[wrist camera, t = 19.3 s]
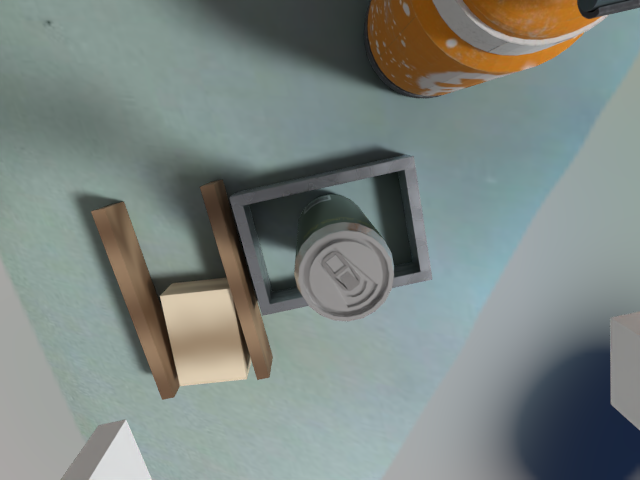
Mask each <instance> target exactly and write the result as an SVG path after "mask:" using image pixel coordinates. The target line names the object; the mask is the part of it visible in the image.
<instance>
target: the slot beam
mask: <svg viewBox="0 0 640 480" xmlns="http://www.w3.org/2000/svg"><path fill="white" fill-rule="evenodd" d="M200 189H201V193H202V196H203V200H204V203H205V206H206V210H207V213H208V216H209V220H210V223H211V226H212V230H213V233H214V236H215V240H216V243H217V246H218V250H219V253H220V256H221V260H222V263H223V266H224V270H225V273H226V276H227V280H228V283H229V286H230V290H231V293H232V297H233V300H234V303H235V307H236V310H237V313H238V317H239V320H240V323H241V327H242V330H243V333H244V337H245V340H246V343H247V347H248V350H249V353H250V357H251V360H252V363H253V367H254V370H255V373H256V377H257V380H259V379H264V378H269V377H270V371H271V365H272V358H273V356H272V353H271V349H270V346H269V342H268V339H267V335H266V331H265V328H264V324H263V321H262V317H261V314H260V310H259V307H258V303H257V300H256V296H255V292H254V289H253V285H252V282H251V278H250V275H249V271H248V268H247V264H246V261H245V257H244V253H243V250H242V246H241V243H240V239H239V236H238V232H237V229H236V225H235V222H234V218H233V214H232V211H231V207H230V204H229V200H228V197H227V193H226V190H225V186H224V183H223V179H222V180H218V181H213V182H210V183H207V184H205V185H203V186H201V187H200ZM91 213H92V216H93V218H94V221H95V224H96V226H97V229H98V231H99V234H100V237H101V239H102V242H103V245H104V247H105V250H106V253H107V255H108V258H109V260H110V263H111V266H112V268H113V271H114V274H115V276H116V279H117V282H118V284H119V287H120V289H121V292H122V295H123V297H124V300H125V303H126V305H127V308H128V311H129V313H130V316H131V318H132V321H133V324H134V326H135V329H136V332H137V334H138V337H139V340H140V342H141V345H142V348H143V350H144V353H145V355H146V358H147V361H148V363H149V366H150V369H151V371H152V374H153V377H154V379H155V382H156V384H157V387H158V390H159V392H160V395H161V398H162V400H163V399H168V398H173V397H174V396H175V394H176V392H177V391H178V389H179V387H180V384H179V379H178V375H177V370H176V366H175V361H174V357H173V352H172V348H171V343H170V339H169V334H168V330H167V325H166V321H165V316H164V314H163V311H162V308H161V305H160V302H159V299H158V297H157V294H156V291H155V288H154V285H153V283H152V280H151V277H150V274H149V271H148V268H147V266H146V263H145V260H144V257H143V254H142V251H141V249H140V246H139V243H138V240H137V237H136V235H135V232H134V229H133V226H132V223H131V220H130V218H129V215H128V212H127V209H126V206H125V203H124V202H120V203H115V204H111V205H108V206H105V207H102V208H99V209H96V210H93V211H91Z"/></svg>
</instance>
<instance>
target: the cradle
mask: <svg viewBox="0 0 640 480" xmlns="http://www.w3.org/2000/svg"><path fill="white" fill-rule="evenodd" d="M397 171H398V177H399V183H400V189H401V195H402V201H403V207H404V213H405V219H406V226H407V232H408V238H409V244H410V250H411V256H412V262H410V263H405V264H401V265H396V266H394V278H393V284H392V288H394V287H399V286H403V285H408V284H413V283H418V282H422V281H427V280H432V273H431V267H430V260H429V254H428V247H427V240H426V234H425V227H424V220H423V214H422V207H421V201H420V194H419V187H418V181H417V174H416V167H415V161H414V156H410V155H401V156H397V157H392V158H388V159H384V160H379V161H375V162H370V163H366V164H361V165H357V166H352V167H348V168H343V169H339V170H334V171H330V172H325V173H321V174H316V175H312V176H307V177H303V178H298V179H294V180H289V181H285V182H280V183H276V184H271V185H267V186H262V187H258V188H253V189H249V190H244V191H240V192H235V193H234V194H233V195H232V196H230V197H229V198H230V202H231V206H232V209H233V213H234V216H235V220H236V223H237V227H238V230H239V234H240V238H241V241H242V245H243V248H244V252H245V255H246V259H247V262H248V266H249V270H250V273H251V277H252V280H253V284H254V287H255V291H256V294H257V298H258V302H259V305H260V309H261V312H262V316H263V315H267V314H272V313H277V312H281V311H286V310H291V309H295V308H300V307H305V306H309V305H308V303H307V302H306V301H305V299H304V297H303V296H302V294H301V293H300V291H299V290H298V287H293V288H289V289H284V290H279V291H275V292H273V291H272V288H271V284H270V280H269V276H268V273H267V269H266V265H265V262H264V258H263V254H262V250H261V247H260V243H259V239H258V235H257V232H256V228H255V224H254V221H253V217H252V213H251V209H250V206H249V204H252V203H257V202H261V201H266V200H270V199H275V198H279V197H284V196H288V195H293V194H297V193H302V192H306V191H311V190H315V189H320V188H324V187H329V186H333V185H338V184H342V183H347V182H351V181H356V180H360V179H365V178H369V177H374V176H378V175H383V174H387V173H392V172H397Z"/></svg>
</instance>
